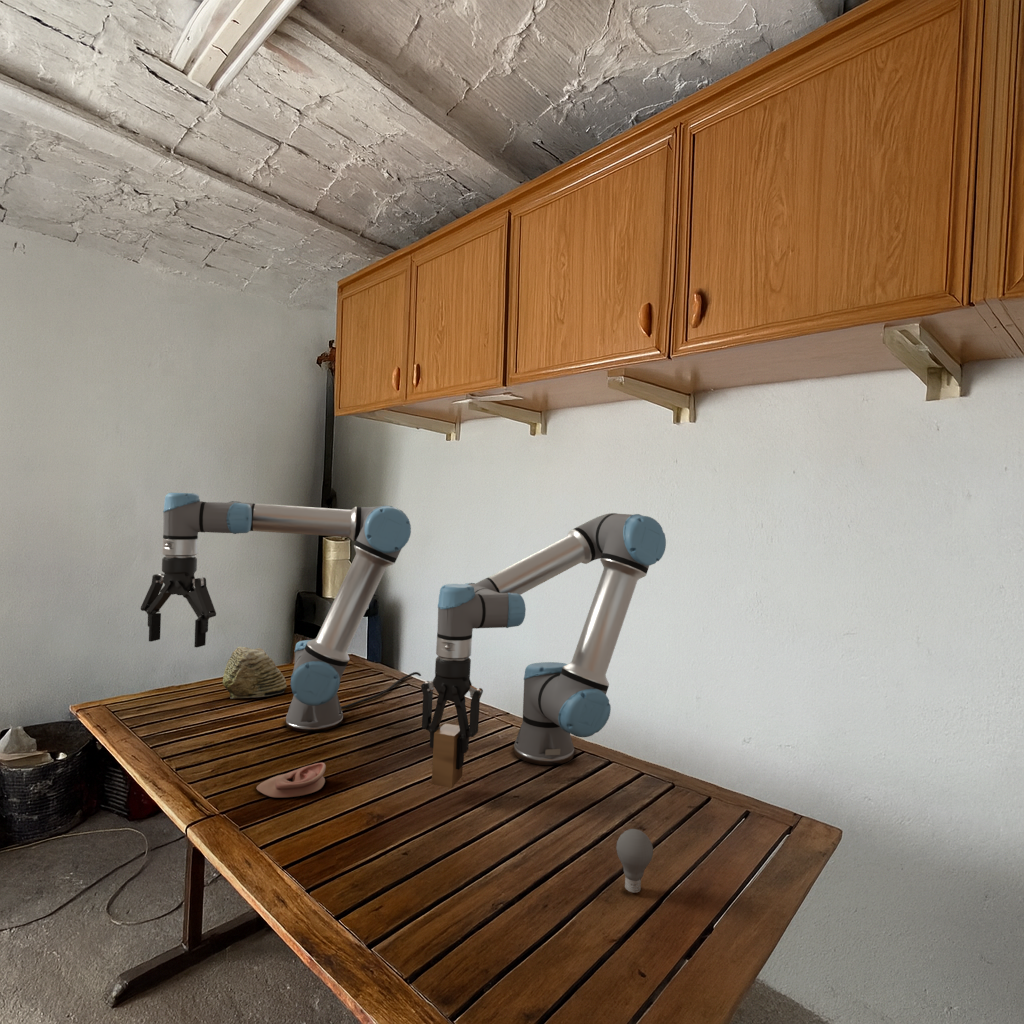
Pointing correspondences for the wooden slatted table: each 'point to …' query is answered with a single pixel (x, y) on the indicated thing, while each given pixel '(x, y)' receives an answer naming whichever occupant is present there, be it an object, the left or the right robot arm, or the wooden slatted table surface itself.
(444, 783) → the brick
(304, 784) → the anatomical model
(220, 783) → the wooden slatted table surface
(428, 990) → the wooden slatted table surface
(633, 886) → the light bulb
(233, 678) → the fossil
